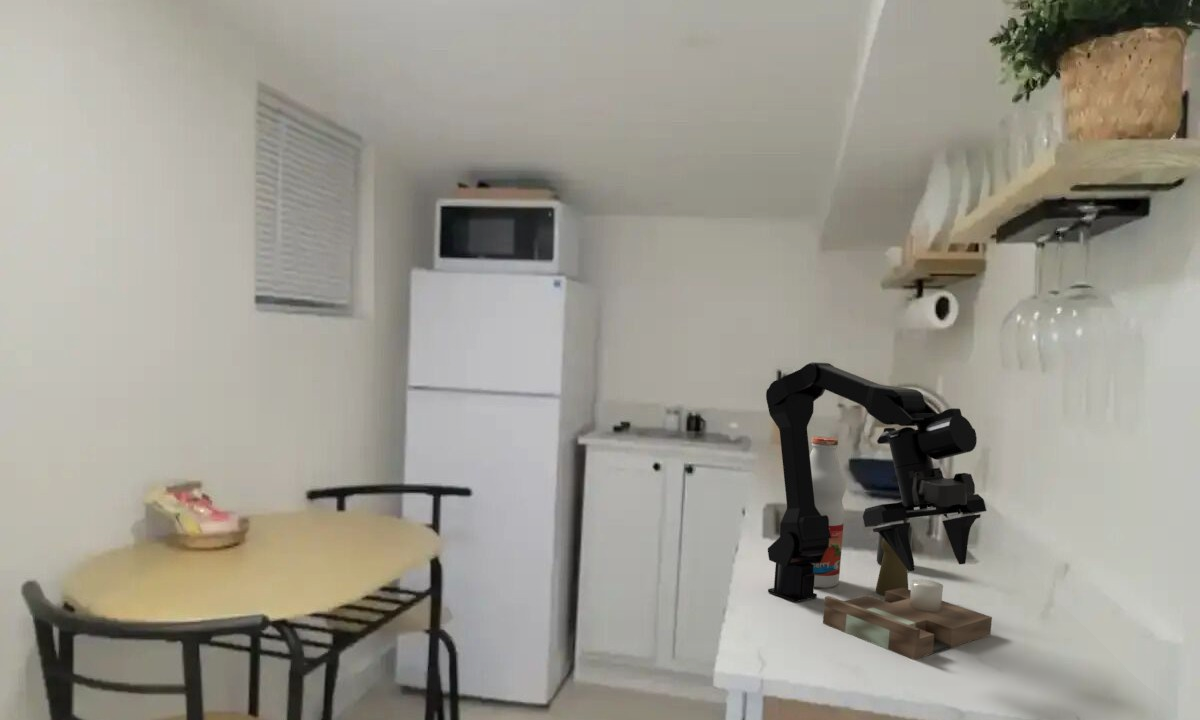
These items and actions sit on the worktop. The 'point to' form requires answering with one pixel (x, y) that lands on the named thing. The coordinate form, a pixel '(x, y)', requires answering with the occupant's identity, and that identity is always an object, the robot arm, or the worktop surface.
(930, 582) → the white short cylinder
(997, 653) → the worktop surface
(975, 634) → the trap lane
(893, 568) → the cork
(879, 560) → the supplement bottle
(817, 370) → the robot arm
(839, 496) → the fruit juice
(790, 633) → the worktop surface
